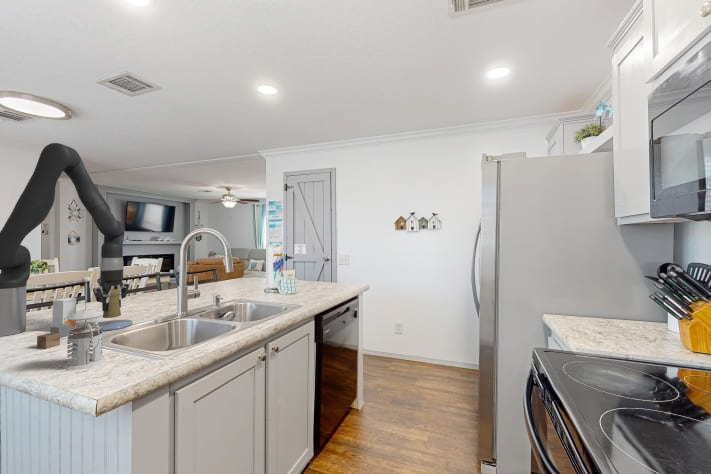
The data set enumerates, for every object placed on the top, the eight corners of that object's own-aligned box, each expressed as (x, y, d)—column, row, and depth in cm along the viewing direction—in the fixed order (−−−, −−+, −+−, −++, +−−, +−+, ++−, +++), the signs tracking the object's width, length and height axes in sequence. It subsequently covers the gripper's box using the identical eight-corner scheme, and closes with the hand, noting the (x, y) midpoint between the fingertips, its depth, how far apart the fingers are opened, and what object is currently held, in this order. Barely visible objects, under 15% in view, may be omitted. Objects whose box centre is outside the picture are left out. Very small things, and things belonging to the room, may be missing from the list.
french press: (97, 354, 100) (98, 274, 100) (115, 362, 94) (116, 276, 94) (56, 365, 92) (57, 277, 92) (73, 374, 86) (74, 280, 86)
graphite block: (50, 337, 116) (50, 326, 116) (62, 334, 120) (62, 323, 120) (58, 338, 115) (58, 327, 115) (70, 335, 119) (71, 324, 119)
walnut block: (36, 348, 105) (37, 335, 105) (51, 344, 109) (51, 332, 109) (46, 349, 104) (46, 336, 104) (59, 345, 108) (60, 333, 108)
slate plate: (79, 329, 126) (79, 327, 126) (114, 320, 139) (114, 318, 139) (108, 332, 122) (108, 330, 122) (140, 323, 136) (140, 320, 136)
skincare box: (62, 331, 123) (63, 300, 123) (51, 331, 123) (52, 300, 123) (76, 327, 129) (77, 297, 129) (66, 327, 129) (66, 297, 129)
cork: (124, 314, 134) (125, 288, 134) (112, 318, 128) (112, 290, 128) (111, 314, 134) (111, 287, 134) (98, 317, 128) (98, 290, 128)
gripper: (121, 266, 139) (120, 306, 139) (86, 270, 125) (86, 314, 125) (135, 267, 137) (134, 307, 137) (101, 270, 123) (101, 315, 123)
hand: (111, 310), depth 131 cm, fingers closed on cork, 4 cm apart
